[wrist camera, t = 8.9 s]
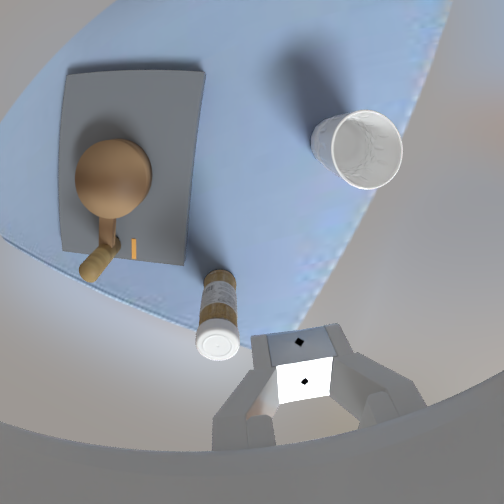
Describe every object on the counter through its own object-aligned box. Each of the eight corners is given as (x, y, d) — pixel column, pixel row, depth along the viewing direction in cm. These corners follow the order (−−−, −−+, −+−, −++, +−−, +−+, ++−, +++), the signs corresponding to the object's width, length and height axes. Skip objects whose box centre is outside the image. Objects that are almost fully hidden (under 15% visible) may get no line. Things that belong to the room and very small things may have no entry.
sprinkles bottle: (215, 301, 43) (210, 367, 30) (197, 277, 41) (186, 340, 29) (242, 287, 42) (248, 352, 30) (225, 262, 40) (224, 322, 28)
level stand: (74, 76, 28) (66, 75, 27) (205, 74, 31) (204, 71, 29) (68, 245, 38) (62, 251, 36) (185, 259, 40) (183, 266, 38)
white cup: (347, 183, 37) (382, 202, 28) (295, 157, 35) (317, 167, 26) (372, 131, 34) (413, 136, 25) (320, 102, 33) (351, 94, 24)
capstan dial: (89, 136, 30) (56, 140, 23) (157, 142, 31) (137, 147, 24) (83, 247, 36) (55, 274, 28) (144, 258, 37) (126, 290, 29)
